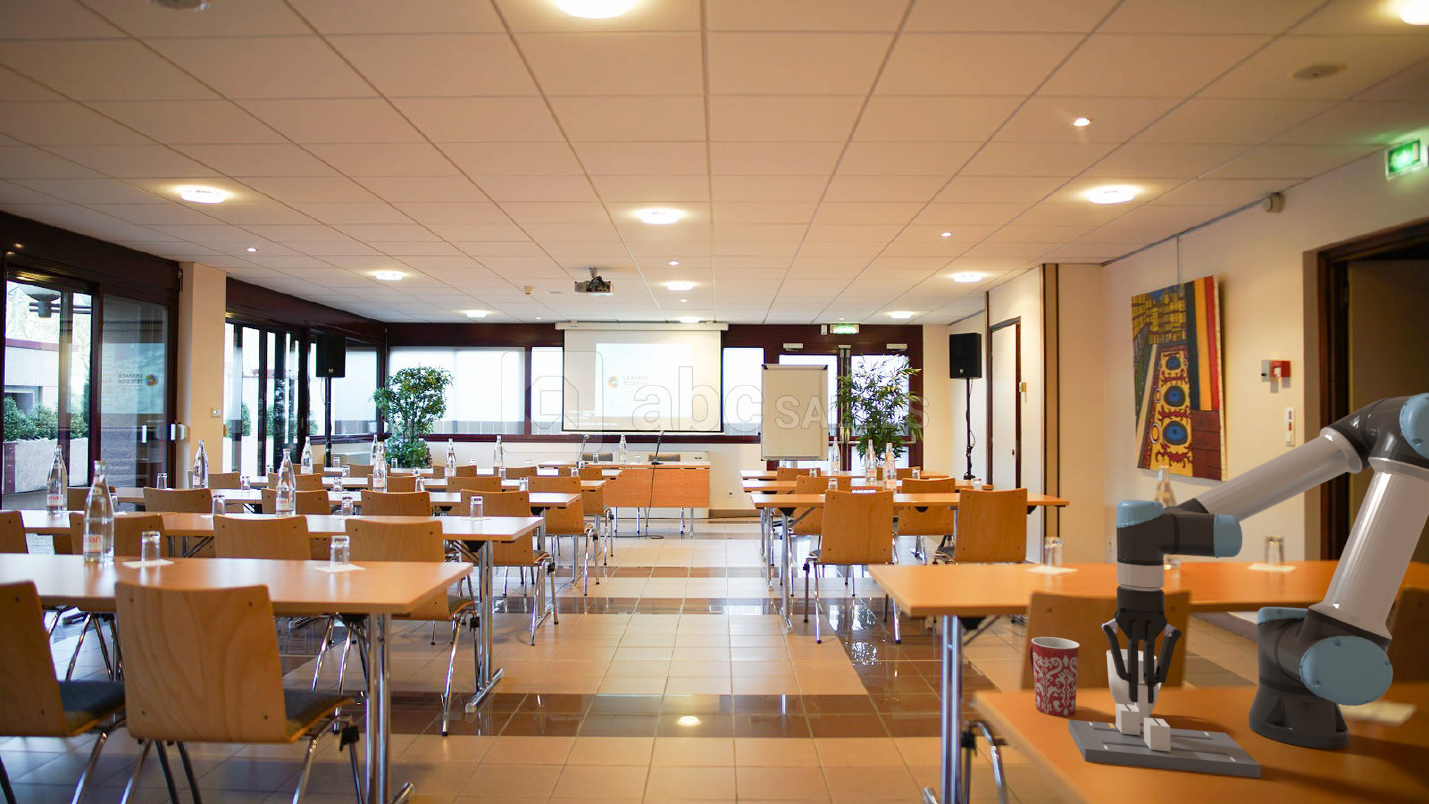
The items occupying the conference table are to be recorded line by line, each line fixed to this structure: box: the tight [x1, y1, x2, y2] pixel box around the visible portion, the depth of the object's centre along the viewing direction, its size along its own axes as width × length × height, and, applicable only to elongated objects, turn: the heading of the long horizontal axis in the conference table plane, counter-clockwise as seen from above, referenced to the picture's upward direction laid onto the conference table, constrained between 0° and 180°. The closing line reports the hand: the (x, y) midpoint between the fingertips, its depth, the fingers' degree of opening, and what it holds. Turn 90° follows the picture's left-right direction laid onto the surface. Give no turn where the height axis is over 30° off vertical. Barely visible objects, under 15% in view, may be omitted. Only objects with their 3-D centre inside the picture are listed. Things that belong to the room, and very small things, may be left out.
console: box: [1068, 719, 1262, 779], centre depth 140 cm, size 26×15×2 cm, turn 76°
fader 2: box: [1143, 717, 1171, 751], centre depth 137 cm, size 3×4×4 cm
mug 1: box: [1029, 636, 1081, 717], centre depth 164 cm, size 13×9×14 cm
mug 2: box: [1106, 648, 1162, 718], centre depth 160 cm, size 12×9×12 cm
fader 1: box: [1115, 703, 1141, 735], centre depth 145 cm, size 3×4×4 cm
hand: (1141, 720), depth 144 cm, fingers closed
